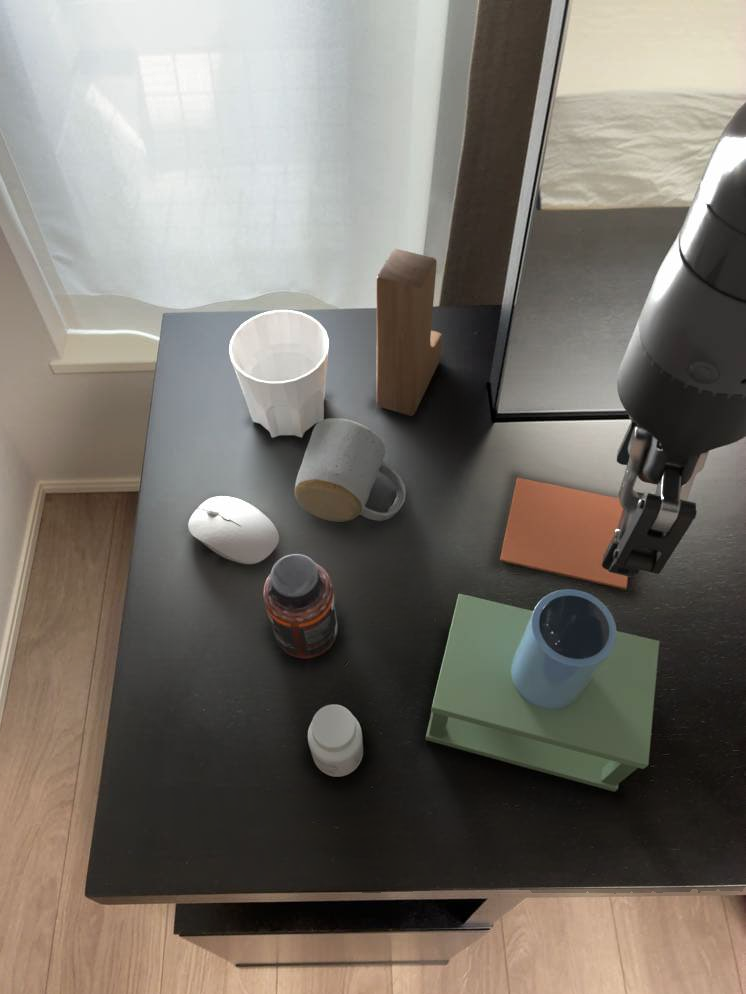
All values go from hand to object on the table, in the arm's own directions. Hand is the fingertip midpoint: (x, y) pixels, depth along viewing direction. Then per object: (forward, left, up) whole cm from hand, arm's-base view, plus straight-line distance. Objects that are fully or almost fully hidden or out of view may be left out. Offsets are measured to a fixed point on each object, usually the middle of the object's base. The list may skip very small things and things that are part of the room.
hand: (625, 512), depth 50 cm
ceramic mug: (+23, -11, -22) cm, 34 cm away
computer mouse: (+33, -3, -22) cm, 40 cm away
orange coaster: (+1, -12, -22) cm, 25 cm away
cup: (+33, -20, -22) cm, 44 cm away
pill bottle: (+17, +15, -22) cm, 32 cm away
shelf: (+2, +7, -22) cm, 23 cm away
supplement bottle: (+23, +5, -22) cm, 32 cm away
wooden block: (+21, -27, -22) cm, 41 cm away
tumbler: (+2, +7, -13) cm, 15 cm away
